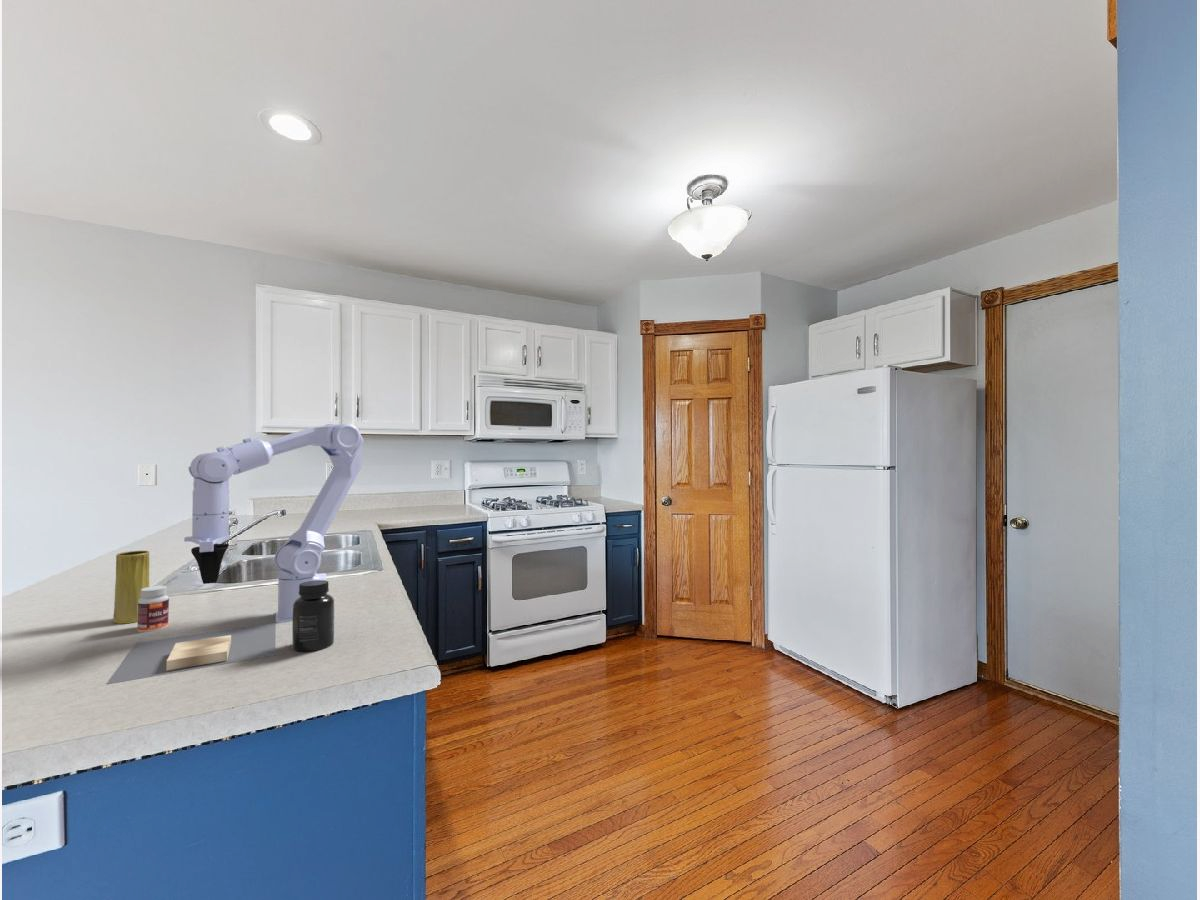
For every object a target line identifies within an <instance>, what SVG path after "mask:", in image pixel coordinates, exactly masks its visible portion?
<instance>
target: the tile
mask: <svg viewBox="0 0 1200 900" xmlns="http://www.w3.org/2000/svg"><path fill="white" fill-rule="evenodd" d="M230 646H231V635H228V636H221V637H214V638H207V639H201V640H194V641H187V642H180V643H176V644H175V646H174V648H173V650H172V651H171V653H170V655H169V657H168V659H167V666H166V671H168V670H175V669H181V668H186V667H192V666H198V665H204V664H210V663H216V662H222V661H227V658H228V654H229V650H230Z"/></svg>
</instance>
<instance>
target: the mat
mask: <svg viewBox="0 0 1200 900" xmlns="http://www.w3.org/2000/svg"><path fill="white" fill-rule="evenodd" d="M276 627H277V623H276V622H272V623H263V624H258V625H256V624H255V625H251V626H241V627H236V628H235V627H234V628H229V629H220V630H216V631H215V630H214V631H208V632H202V633H201V632H200V633H193V634H187V635H180V636H172V637H167V638H159V639H151V640H145V641H139V642H135V643H134V645H133V647H132V648H131V649H130V651H129V653H127V655H126V656H125V658H124V659H123V661H121V663H120V665H119V666H118V667H117V669H116V670H115V672H114V673H113V675H112V676H111V677H110V678H109V680H108V681H107V682H106V685H112V684H118V683H123V682H129V681H135V680H141V679H146V678H152V677H158V676H159V677H160V676H163V675H169V674H171V675H172V674H175V673H182V672H187V671H193V670H199V669H204V668H209V667H210V668H212V667H215V666H216V667H217V666H223V665H227V664H228V665H229V664H235V663H239V662H246V661H252V660H257V659H263V658H268V657H273V656H276V631H277V630H276ZM228 635H231V646H230V650H229V654H228V658H227V661H222V662H216V663H210V664H204V665H198V666H192V667H186V668H181V669H175V670H168V671H166V666H167V659H168V657H169V655H170V653H171V651H172V650H173V648H174V646H175V644H176V643H180V642H187V641H194V640H201V639H207V638H214V637H221V636H228Z"/></svg>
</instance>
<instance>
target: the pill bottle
mask: <svg viewBox="0 0 1200 900" xmlns="http://www.w3.org/2000/svg"><path fill="white" fill-rule="evenodd" d="M167 589H168V588H167V586H165V585H153V586H149V587H147V588H143V589H141V594H140V595H141V597H142V598H141V599H140V600H139V601H138V622H137V632H140V633H141V632H145V633H146V632H147V633H148V632H154V631H159V630H162V629H165V628H167V627H168V626H169V612H170V611H169V609H170V605H169V604H170V598H169V596H168V595H167V592H168V590H167Z"/></svg>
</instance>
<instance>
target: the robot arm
mask: <svg viewBox="0 0 1200 900" xmlns="http://www.w3.org/2000/svg"><path fill="white" fill-rule="evenodd" d="M364 442H365V441H364V438H363V436H362V434H361V432H360V429H358V427H357V426H355V425H354V424H352V423H349V422H343V423H339V424H337V423H335V424H332V423H327V424H324V425H318V426H317V425H316V426H311V427H306V428H304V429H301V430H298V431H295V432H293V433H289V434H287V435H286V434H285V435H283V436H279V437H278V438H274V439H272V440H269V441H266V440H262V439H259V438H254V439H253V438H252V437H246V438H243V439H242V442H240V443H237V444H234V445H231V446H227V447H224V446H218V447H216V451H212V452H204V453H200V454H198V455H196V456H195V458H193V459H192V460H191V462H190V466H188V472H189V474H190V475H191V477H192V478H193V483H192V485H193V490H192V511H191V512H192V516H191V517H192V523H191V524H192V525H191V527H192V528H191V530H192V532H191V536H185V537H184V539H183V541H184V542H185V543H186V542H191V543H194V544H196V545H199V546H195V547H192V548H191V550H190V552H191V554H192V555H193V557H194V558H195V560H196V563H197V565H198V570H199V573H200V579H201V581H202V584H203V585H205V584H207V585H208V584H216V583H217V582H218V579H219V576H220V571H221V567H222V562H223V560H224V559H223V558H224V555H225V553H226V552H227V550H228V548H229V546H230V545H229V543H222V542H224V541H228V540H230V538H231V537H230V536H231V535H230V534H229V527H230V526H229V520H230V518H229V516H230V513H229V512H230V510H229V509H230V507H229V506H230V488H229V480H230V479H231V478H232V476H235V475H239V474H241V473H246V472H248V471H251V470H254V469H257V468H259V467H264V466H266V465H268V464H269V463H270V462H271V460H272V459H273V457H274V456H276V455H280V454H284V453H288V452H291V451H294V450H297V449H298V450H299V449H301V448H304V447H307V446H315V447H320V448H321V450H323V451H324V452H325V453H326V455H327V456H328V457H329V459H330V462H331V464H332V467H333V468H332V470H331V472H330V473H329V475H328V477H327V479H326V481H325V482H324V484H323V485H322V487H321V489H320V491H319V492H318V494H317V496H316V498H315V500H314V501H313V503H312V506H311V507H310V509H309V511H308V513H307V515H306V516H305V517H304V520H303V522H302V524H301V525H300V526H299V528H298V530H296V531H295V532H294V533H292V534H291V535H290V537H289V538H288V540H287V541H286V542H285V543H284V544H282V545H281V546H280V547H279V548H278V549H277V550H276V552H275V555H274V563H275V565H276V567H277V568H278V569H279V570H280V571H279V573H278V581H277V587H278V589H277V590H278V591H277V611H275V623H276V624H278V623H285V622H293V604H294V602H295V601H296V600H297V599H298V598H300V595H299V585H300V584H301V583H304V582H308V581H315V580H325V581H328V579H327V574H326V573H325V572H323V573H317V571H318V570H319V569H320V567H321V563H322V554H323V552H324V549H325V539H324V537H325V536H326V534H327V532H328V531H329V528H330V526H331V524H332V523H333V520H334V519H335V517H336V515H337V514H338V512H339V510H340V508H341V506H342V504H343V502H344V500H345V498H346V497H347V495H348V493H349V491H350V490H351V487H352V485H353V483H354V482H355V480H356V478H357V476H358V474H359V472H360V470H361V469H362V468H361V467H362V446H363V445H364Z"/></svg>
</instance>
